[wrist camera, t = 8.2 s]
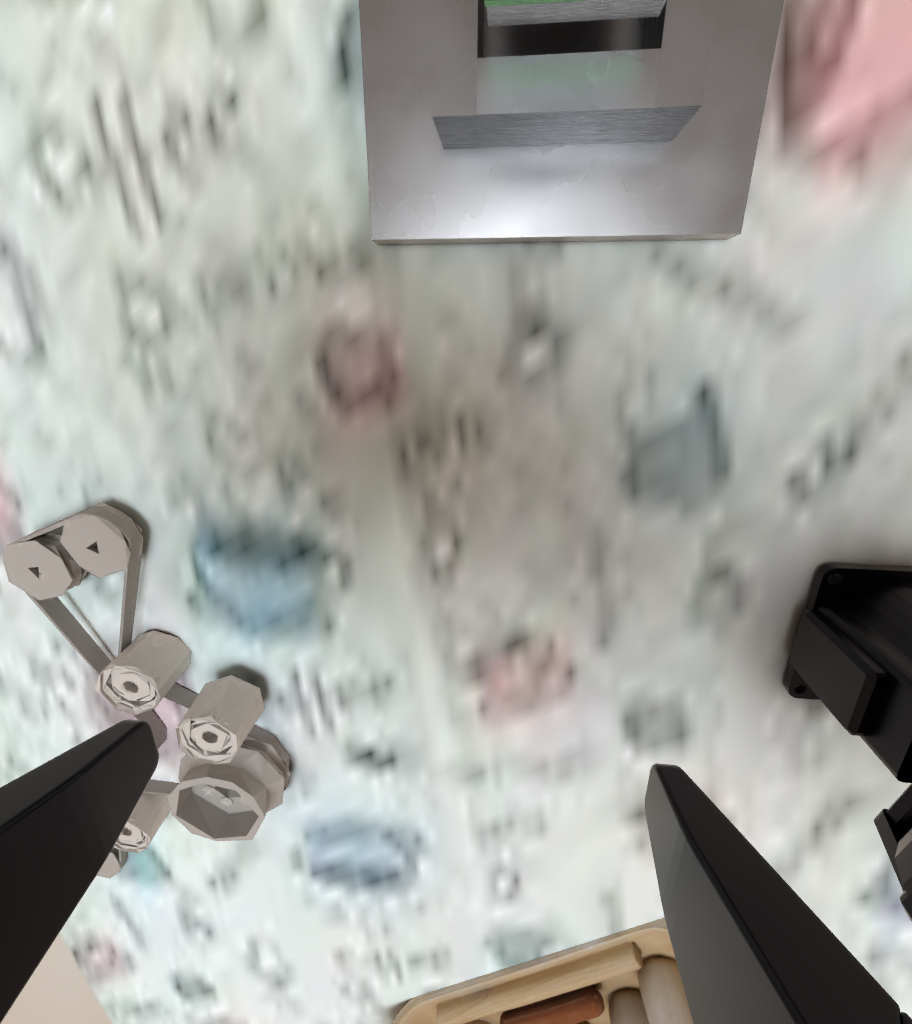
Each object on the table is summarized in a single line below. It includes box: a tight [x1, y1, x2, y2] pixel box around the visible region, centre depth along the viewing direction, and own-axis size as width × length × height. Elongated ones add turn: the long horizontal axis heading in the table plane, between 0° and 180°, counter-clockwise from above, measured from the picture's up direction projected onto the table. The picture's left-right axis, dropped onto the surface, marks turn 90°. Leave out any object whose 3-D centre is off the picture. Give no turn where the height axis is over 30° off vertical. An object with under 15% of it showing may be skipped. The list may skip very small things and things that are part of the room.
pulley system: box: [3, 503, 291, 878], centre depth 26 cm, size 27×5×15 cm
